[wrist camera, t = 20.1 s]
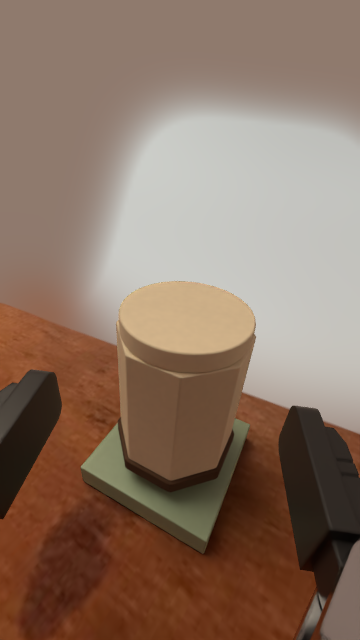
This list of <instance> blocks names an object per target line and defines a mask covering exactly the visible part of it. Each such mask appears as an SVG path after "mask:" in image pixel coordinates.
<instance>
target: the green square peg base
mask: <svg viewBox="0 0 360 640" xmlns="http://www.w3.org/2000/svg"><path fill="white" fill-rule="evenodd" d="M249 427H250V425H249V424H247V423H245V422H243V421H240V420H238V419H236V418H235V420H234V424H233V428H232V429H233V431H234V438H233V441H232V444H231V446H230V449H229V451H228V454H227V456H226V458H225V461H224V463H223V466H222V468H221V471H220V473H219V475H218V478H216V479H214V480H211V481H207V482H204V483H201V484H197V485H194V486H191V487H187V488H184V489H181V490H177V491H174V492H167V491H165V490H164V489H162V488H160V487H158V486H157V485H155V484H153V483H151V482H149V481H148V480H146V479H144V478H142V477H141V476H139V475H137V474H135V473H133V472H132V471H130V470H128V469H127V468H126V467H125V463H124V457H123V452H122V447H121V441H120V436H119V431H118V423H117V424H116V425H115V427H114V428H113V429H112V430H111V431H110V433H109V434H108V435H107V436H106V437H105V439H104V440H103V441H102V442H101V443H100V445H99V446H98V447H97V448H96V449H95V450H94V452H93V453H92V454H91V455H90V456H89V458H88V459H87V460H86V461H85V462H84V464H83V465H82V466H81V472H82V477H83V481H84V482H86V483H88V484H89V485H91V486H93V487H94V488H96V489H97V490H99V491H101V492H102V493H104V494H106V495H107V496H109V497H110V498H112V499H114V500H115V501H117V502H119V503H120V504H122V505H124V506H125V507H127V508H128V509H130V510H132V511H133V512H135V513H137V514H138V515H140V516H142V517H143V518H145V519H146V520H148V521H150V522H151V523H153V524H155V525H156V526H158V527H160V528H161V529H163V530H164V531H166V532H168V533H169V534H171V535H173V536H174V537H176V538H177V539H179V540H181V541H182V542H184V543H186V544H187V545H189V546H191V547H192V548H194V549H195V550H197V551H199V552H200V553H202V554H204V552H205V549H206V546H207V544H208V541H209V538H210V535H211V533H212V530H213V527H214V525H215V522H216V519H217V516H218V514H219V511H220V508H221V505H222V503H223V500H224V497H225V494H226V492H227V489H228V486H229V484H230V481H231V478H232V475H233V473H234V470H235V467H236V464H237V462H238V459H239V456H240V453H241V451H242V448H243V445H244V442H245V440H246V437H247V434H248V430H249Z"/></svg>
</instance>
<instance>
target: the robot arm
mask: <svg viewBox="0 0 360 640" xmlns="http://www.w3.org/2000/svg"><path fill="white" fill-rule="evenodd" d="M61 407H62V403H61V397H60V393H59V388H58V383H57V378H56V375H55V373H53V372H47V371H39V370H30V371H28V372H27V373H26V374H25V376H24V377H23V378H22V380H21V381H20V382H19V383H18V384H17V383H11V384H10V385H8V386H7V387H5V388H4V389H2V390H1V391H0V519H4V517H5V515H6V513H7V511H8V510H9V508H10V506H11V504H12V502H13V501H14V499H15V497H16V495H17V493H18V491H19V490H20V488H21V486H22V484H23V482H24V481H25V479H26V477H27V475H28V473H29V472H30V470H31V468H32V466H33V464H34V463H35V461H36V459H37V457H38V455H39V454H40V452H41V450H42V448H43V446H44V445H45V443H46V441H47V439H48V437H49V436H50V434H51V432H52V430H53V428H54V426H55V425H56V423H57V421H58V419H59V416H60V413H61ZM279 456H280V461H281V467H282V472H283V478H284V483H285V489H286V494H287V500H288V505H289V511H290V516H291V522H292V527H293V533H294V538H295V544H296V549H297V555H298V560H299V566H300V570H306V571H312V572H314V575H315V580H316V584H317V587H316V588H315V590H314V592H313V595H312V597H311V599H310V602H309V604H308V606H307V608H306V611H305V613H304V615H303V617H302V620H301V622H300V624H299V626H298V629H297V631H296V633H295V636H294V638H293V640H360V478H359V477H358V475H359V474H358V471H357V469H356V466H355V464H353V459H352V456H351V454H350V451H349V449H348V446H347V444H346V442H345V441H344V440H343V439H342V438H341V436H340V435H339V434H338V433H337V431H336V430H335V429H334V428H330V427H325V426H324V423H323V420H322V417H321V415H320V412H319V411H318V409H315V408H308V407H300V406H292V407H291V408H290V411H289V413H288V416H287V418H286V421H285V423H284V426H283V428H282V431H281V433H280V437H279Z"/></svg>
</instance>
